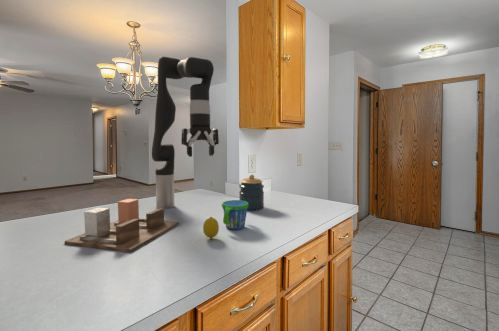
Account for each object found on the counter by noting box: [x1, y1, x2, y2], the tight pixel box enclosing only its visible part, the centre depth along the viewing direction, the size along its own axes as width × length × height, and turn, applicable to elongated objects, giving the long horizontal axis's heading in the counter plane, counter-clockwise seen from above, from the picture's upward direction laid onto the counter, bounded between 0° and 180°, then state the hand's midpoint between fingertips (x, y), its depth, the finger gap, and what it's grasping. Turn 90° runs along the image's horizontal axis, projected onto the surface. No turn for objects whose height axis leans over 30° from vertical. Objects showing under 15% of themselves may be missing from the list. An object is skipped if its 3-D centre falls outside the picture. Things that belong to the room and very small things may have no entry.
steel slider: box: [83, 207, 111, 238], centre depth 96 cm, size 5×6×9 cm
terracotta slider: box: [117, 198, 140, 223], centre depth 111 cm, size 5×6×9 cm
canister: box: [238, 174, 265, 212], centre depth 141 cm, size 13×13×18 cm
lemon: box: [202, 216, 220, 240], centre depth 97 cm, size 6×6×8 cm
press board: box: [64, 208, 180, 253], centre depth 102 cm, size 26×30×7 cm
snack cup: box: [221, 199, 249, 231], centre depth 109 cm, size 16×10×10 cm
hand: (200, 156), depth 104 cm, fingers open, 8 cm apart
